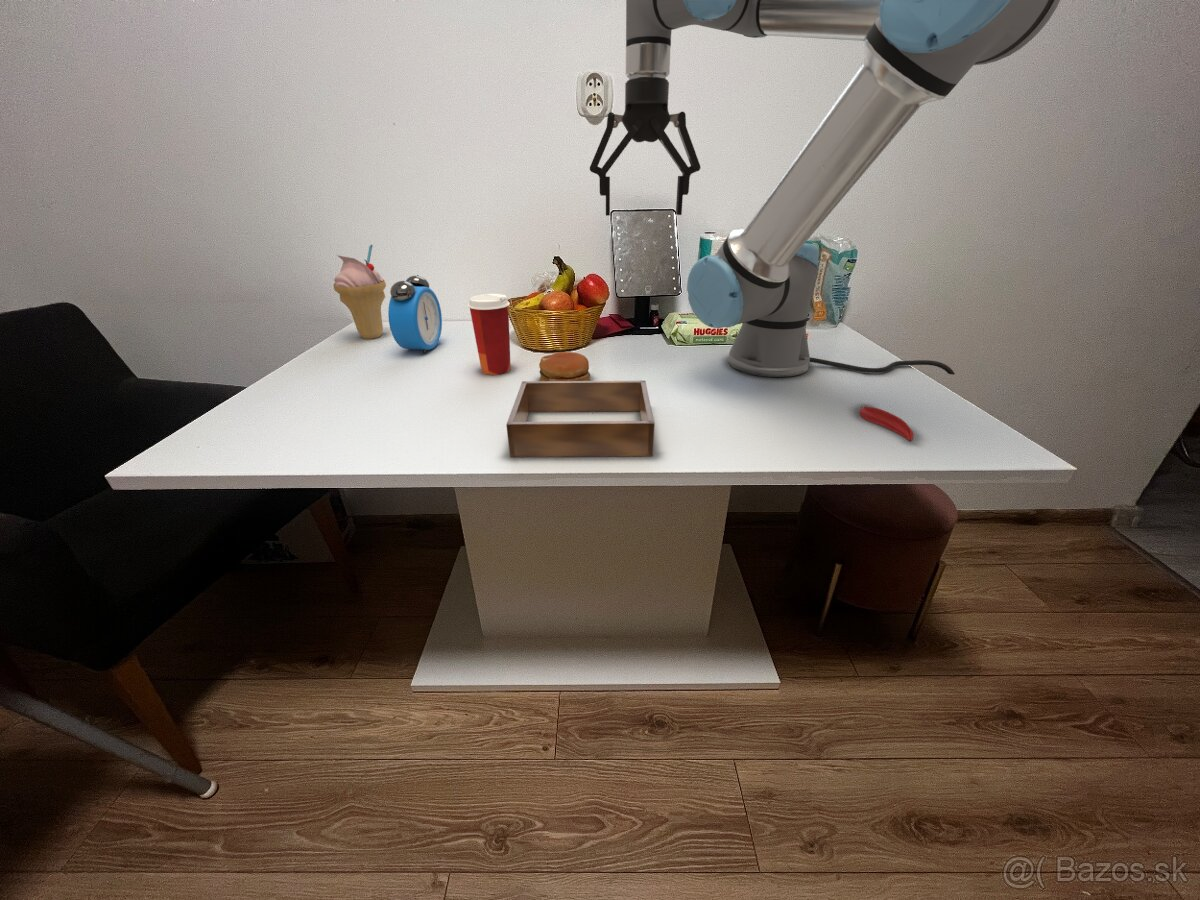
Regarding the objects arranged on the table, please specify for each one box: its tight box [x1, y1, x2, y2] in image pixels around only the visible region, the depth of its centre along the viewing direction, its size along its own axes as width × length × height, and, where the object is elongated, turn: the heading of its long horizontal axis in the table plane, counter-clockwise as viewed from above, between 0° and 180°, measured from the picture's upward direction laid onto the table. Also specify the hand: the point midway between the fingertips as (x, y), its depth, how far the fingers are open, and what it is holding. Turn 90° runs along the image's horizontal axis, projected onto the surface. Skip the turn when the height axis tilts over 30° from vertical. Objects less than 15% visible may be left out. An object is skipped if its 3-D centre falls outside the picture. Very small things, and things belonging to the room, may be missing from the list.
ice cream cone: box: [333, 244, 387, 340], centre depth 117 cm, size 11×11×20 cm
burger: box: [538, 351, 591, 381], centre depth 94 cm, size 10×9×5 cm
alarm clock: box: [387, 274, 443, 355], centre depth 109 cm, size 13×6×15 cm, turn 173°
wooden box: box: [506, 380, 655, 458], centre depth 75 cm, size 20×16×5 cm
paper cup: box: [467, 293, 511, 376], centre depth 97 cm, size 8×8×14 cm
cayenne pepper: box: [859, 405, 915, 442], centre depth 78 cm, size 12×5×2 cm, turn 0°
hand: (643, 215), depth 98 cm, fingers open, 13 cm apart
